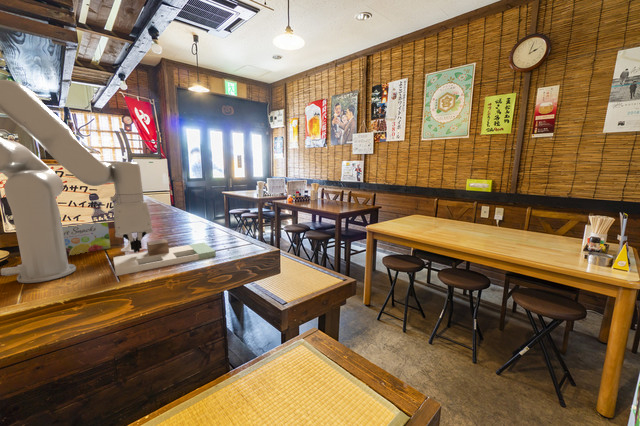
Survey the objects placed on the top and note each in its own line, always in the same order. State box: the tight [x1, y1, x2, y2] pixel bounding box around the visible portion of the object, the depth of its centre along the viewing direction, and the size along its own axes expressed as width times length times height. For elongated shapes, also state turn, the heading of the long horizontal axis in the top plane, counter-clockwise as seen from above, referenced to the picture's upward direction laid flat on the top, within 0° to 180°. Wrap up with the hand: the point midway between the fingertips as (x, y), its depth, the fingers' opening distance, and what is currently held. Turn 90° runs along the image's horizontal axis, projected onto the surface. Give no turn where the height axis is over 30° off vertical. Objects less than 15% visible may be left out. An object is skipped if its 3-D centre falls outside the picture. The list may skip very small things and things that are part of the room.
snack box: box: [62, 223, 111, 257], centre depth 100 cm, size 21×6×15 cm, turn 143°
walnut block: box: [146, 238, 170, 256], centre depth 97 cm, size 6×5×4 cm
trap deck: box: [112, 242, 217, 277], centre depth 96 cm, size 30×14×2 cm, turn 129°
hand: (136, 251), depth 93 cm, fingers closed
